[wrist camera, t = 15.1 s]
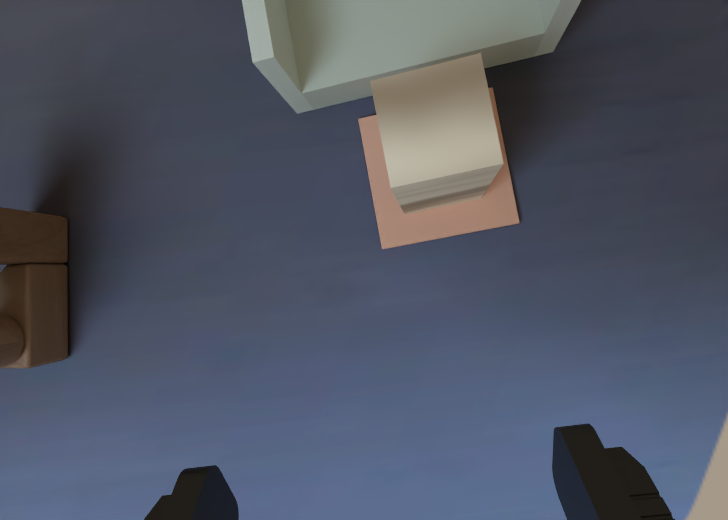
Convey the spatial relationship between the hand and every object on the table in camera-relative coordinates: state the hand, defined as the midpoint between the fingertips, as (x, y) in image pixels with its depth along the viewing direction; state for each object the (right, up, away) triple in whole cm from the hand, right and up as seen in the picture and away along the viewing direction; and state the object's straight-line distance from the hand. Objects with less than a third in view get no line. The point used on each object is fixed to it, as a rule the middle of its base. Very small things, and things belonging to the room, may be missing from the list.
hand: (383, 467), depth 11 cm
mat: (+4, +11, +20) cm, 23 cm away
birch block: (+4, +11, +19) cm, 22 cm away
